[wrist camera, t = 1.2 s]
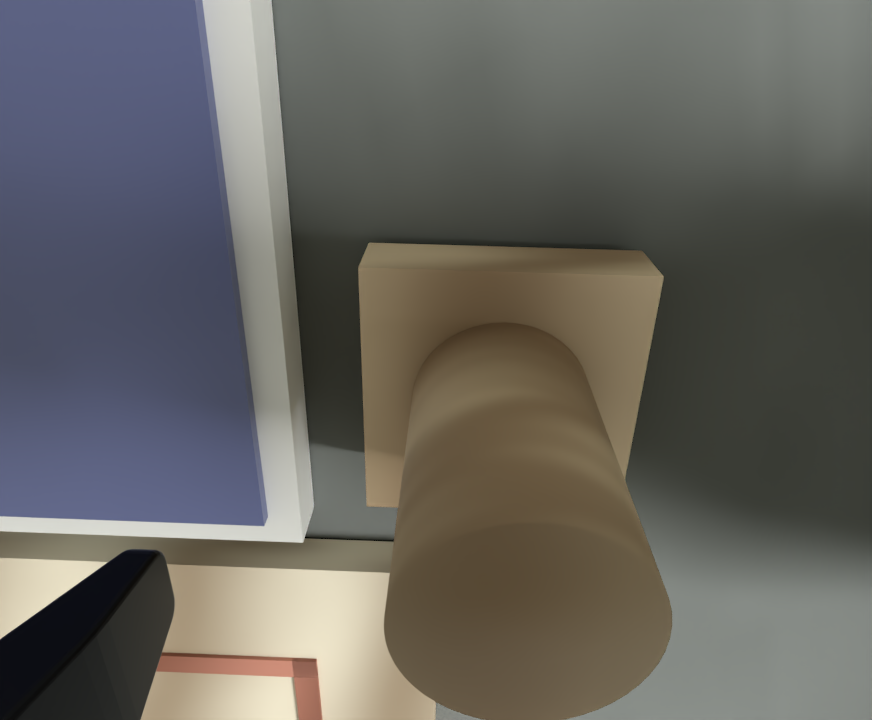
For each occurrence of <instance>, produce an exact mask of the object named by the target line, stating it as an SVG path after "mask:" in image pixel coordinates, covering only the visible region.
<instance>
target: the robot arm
mask: <svg viewBox="0 0 872 720" xmlns="http://www.w3.org/2000/svg"><path fill="white" fill-rule="evenodd" d="M174 610H175V597H174V592H173V588H172V584H171V579H170V575H169V571H168V567H167V562H166V559H165V556H164V555H163V553H162V552H161V551H158V550H147V549H129V550H126V551H124V552H122V553H120V554H119V555H117V556H116V557H115V558H113V559H112V560H110V561H109V562H107V563H106V564H105V565H103V566H102V567H100V568H99V569H98V570H96V571H95V572H93V573H92V574H91V575H89V576H88V577H86V578H85V579H84V580H82V581H81V582H79V583H78V584H77V585H75V586H74V587H72V588H71V589H70V590H68V591H67V592H65V593H64V594H63V595H61V596H60V597H58V598H57V599H56V600H54V601H53V602H51V603H50V604H49V605H47V606H46V607H44V608H43V609H42V610H40V611H39V612H37V613H36V614H35V615H33V616H32V617H30V618H29V619H28V620H26V621H25V622H23V623H22V624H21V625H19V626H18V627H16V628H15V629H13V630H12V631H11V632H9V633H8V634H6V635H5V636H4V637H2V638H1V639H0V720H141V717H142V714H143V711H144V708H145V705H146V702H147V698H148V695H149V692H150V689H151V686H152V683H153V680H154V676H155V673H156V670H157V667H158V664H159V661H160V657H161V654H162V651H163V648H164V645H165V642H166V639H167V635H168V632H169V629H170V626H171V623H172V620H173V616H174Z"/></svg>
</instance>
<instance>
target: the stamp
mask: <svg viewBox="0 0 872 720" xmlns="http://www.w3.org/2000/svg"><path fill="white" fill-rule="evenodd" d="M358 277H359V304H360V332H361V360H362V387H363V415H364V443H365V470H366V498H367V506H369V507H396V508H398V512H397V520H396V528H395V536H394V544H393V552H392V560H391V567H390V575H389V583H388V591H387V599H386V607H385V615H384V635H385V641H386V645H387V648H388V651H389V654H390V656H391V658H392V660H393V662H394V664H395V665H396V667H397V668H398V669H399V671H400V672H401V674H402V675H403V676H404V677H405V678H406V679H407V680H408V681H409V682H410V683H411V684H412V685H413V686H414V687H415V688H416V689H418V690H419V691H420V692H421V693H423V694H424V695H425V696H427V697H429V698H430V699H432V700H434V701H435V702H437V703H439V704H441V705H443V706H445V707H447V708H449V709H451V710H454V711H457V712H460V713H462V714H465V715H468V716H472V717H476V718H480V719H485V720H564V719H568V718H572V717H576V716H580V715H584V714H586V713H589V712H592V711H595V710H598V709H600V708H602V707H604V706H607V705H609V704H611V703H613V702H615V701H616V700H618V699H620V698H621V697H623V696H625V695H626V694H628V693H629V692H630V691H632V690H633V689H634V688H636V687H637V686H638V685H639V684H641V683H642V682H643V681H644V680H645V679H646V678H647V677H648V676H649V675H650V674H651V672H652V671H653V670H654V668H655V667H656V666H657V665H658V663H659V661H660V660H661V658H662V656H663V654H664V653H665V651H666V648H667V645H668V642H669V640H670V635H671V629H672V610H671V606H670V601H669V597H668V595H667V592H666V589H665V587H664V584H663V581H662V579H661V576H660V573H659V570H658V568H657V565H656V562H655V560H654V557H653V554H652V552H651V549H650V546H649V544H648V541H647V538H646V536H645V533H644V530H643V527H642V525H641V522H640V519H639V517H638V514H637V511H636V509H635V506H634V503H633V501H632V498H631V495H630V493H629V490H628V487H627V484H626V482H625V476H626V471H627V466H628V461H629V456H630V450H631V445H632V440H633V435H634V430H635V424H636V419H637V414H638V409H639V404H640V399H641V393H642V388H643V383H644V378H645V373H646V367H647V362H648V357H649V352H650V347H651V341H652V336H653V331H654V326H655V321H656V315H657V310H658V305H659V300H660V295H661V290H662V284H663V279H664V276H663V275H662V274H661V273H660V271H659V270H658V269H657V268H656V267H655V265H654V264H653V263H652V262H651V261H650V260H649V258H648V257H647V256H646V255H645V254H644V252H643V251H636V250H602V249H568V248H534V247H500V246H466V245H432V244H398V243H368V246H367V248H366V250H365V253H364V255H363V257H362V260H361V262H360V264H359V267H358Z"/></svg>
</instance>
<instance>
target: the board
mask: <svg viewBox="0 0 872 720" xmlns="http://www.w3.org/2000/svg"><path fill="white" fill-rule="evenodd" d="M393 544H394V542H387V541H360V540H334V539H307V538H304V542H303V543H298V542H271V541H245V540H219V539H192V538H166V537H139V536H113V535H87V534H60V533H34V532H7V531H0V639H1V638H2V637H4V636H5V635H6V634H8V633H9V632H11V631H12V630H13V629H15V628H16V627H18V626H19V625H21V624H22V623H23V622H25V621H26V620H28V619H29V618H30V617H32V616H33V615H35V614H36V613H37V612H39V611H40V610H42V609H43V608H44V607H46V606H47V605H49V604H50V603H51V602H53V601H54V600H56V599H57V598H58V597H60V596H61V595H63V594H64V593H65V592H67V591H68V590H70V589H71V588H72V587H74V586H75V585H77V584H78V583H79V582H81V581H82V580H84V579H85V578H86V577H88V576H89V575H91V574H92V573H93V572H95V571H96V570H98V569H99V568H100V567H102V566H103V565H105V564H106V563H107V562H109V561H110V560H112V559H113V558H115V557H116V556H117V555H119V554H120V553H122V552H124V551H126V550H129V549H147V550H158V551H161V552H162V553H163V555H164V556H165V559H166V562H167V567H168V571H169V575H170V579H171V584H172V588H173V592H174V597H175V610H174V616H173V620H172V623H171V626H170V629H169V632H168V635H167V639H166V642H165V645H164V648H163V651H162V654H161V657H160V661H159V664H158V667H157V670H156V673H155V676H154V680H153V683H152V686H151V689H150V692H149V695H148V698H147V702H146V705H145V708H144V711H143V714H142V717H141V720H435V710H436V702H435V701H434V700H432V699H430V698H429V697H427V696H425V695H424V694H423V693H421V692H420V691H419V690H418V689H416V688H415V687H414V686H413V685H412V684H411V683H410V682H409V681H408V680H407V679H406V678H405V677H404V676H403V675H402V674H401V672H400V671H399V669H398V668H397V667H396V665H395V664H394V662H393V660H392V658H391V656H390V654H389V651H388V648H387V645H386V641H385V635H384V615H385V607H386V599H387V591H388V583H389V575H390V567H391V560H392V552H393Z"/></svg>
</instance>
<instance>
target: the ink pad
mask: <svg viewBox="0 0 872 720" xmlns="http://www.w3.org/2000/svg"><path fill="white" fill-rule="evenodd" d="M313 509H314V499H313V487H312V475H311V463H310V451H309V439H308V427H307V415H306V404H305V392H304V380H303V368H302V356H301V344H300V332H299V320H298V309H297V297H296V285H295V273H294V261H293V249H292V237H291V225H290V214H289V202H288V190H287V178H286V166H285V154H284V142H283V130H282V119H281V107H280V95H279V83H278V71H277V59H276V47H275V35H274V24H273V12H272V0H0V531H7V532H34V533H60V534H87V535H113V536H139V537H166V538H192V539H219V540H245V541H271V542H298V543H303V542H304V538H305V535H306V532H307V528H308V525H309V522H310V519H311V515H312V512H313Z"/></svg>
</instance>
